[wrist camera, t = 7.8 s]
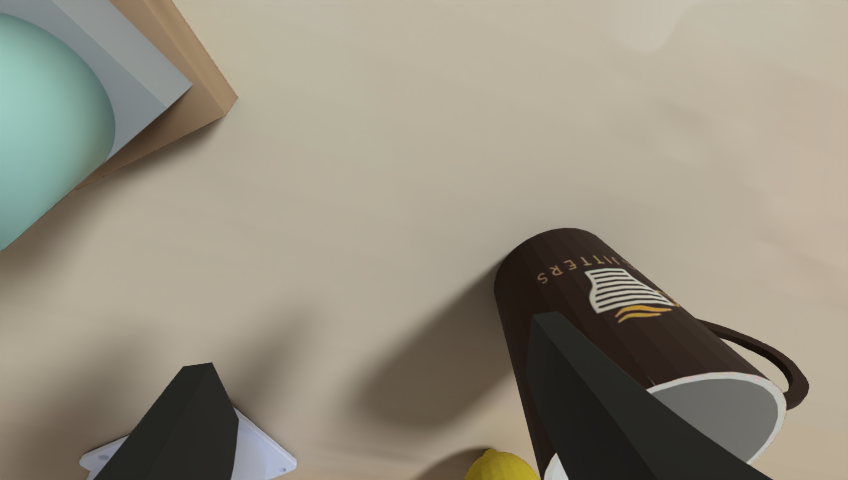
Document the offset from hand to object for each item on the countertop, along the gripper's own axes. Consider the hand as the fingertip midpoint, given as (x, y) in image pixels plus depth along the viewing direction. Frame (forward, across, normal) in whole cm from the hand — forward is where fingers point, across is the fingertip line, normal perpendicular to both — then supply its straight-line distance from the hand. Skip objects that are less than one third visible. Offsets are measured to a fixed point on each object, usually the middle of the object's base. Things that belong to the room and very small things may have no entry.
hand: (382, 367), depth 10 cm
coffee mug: (+11, -10, +8) cm, 17 cm away
